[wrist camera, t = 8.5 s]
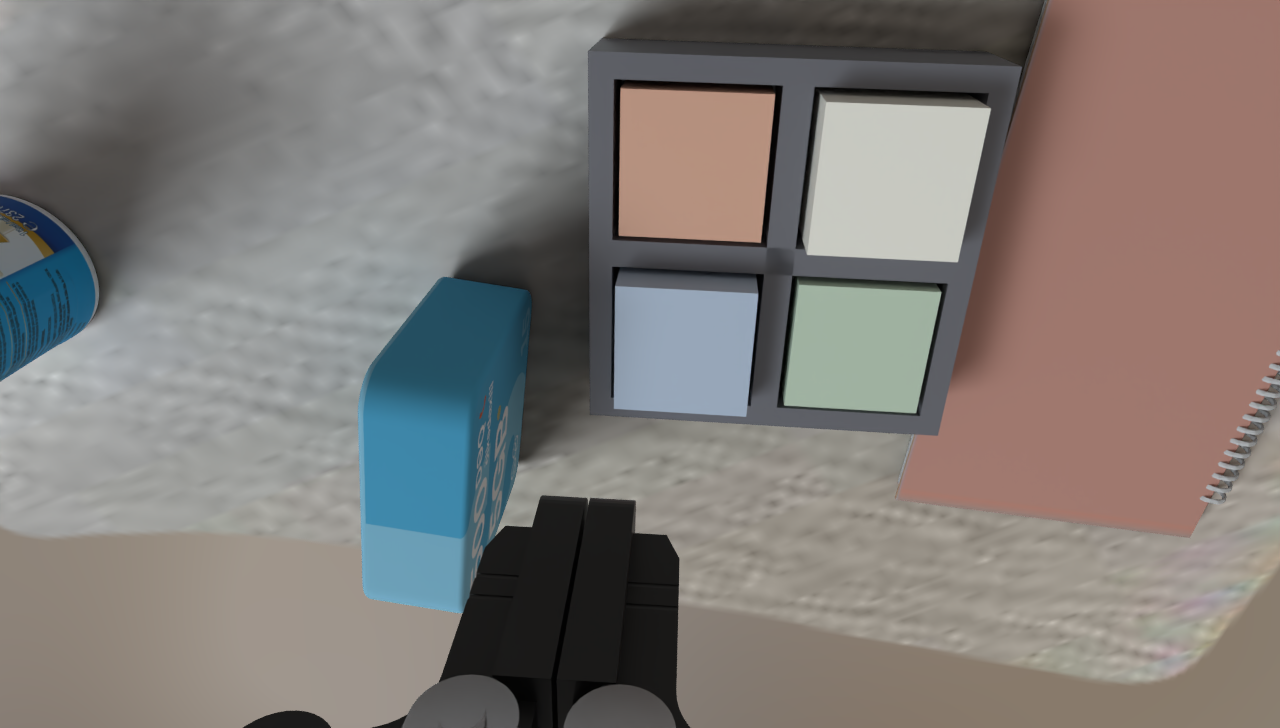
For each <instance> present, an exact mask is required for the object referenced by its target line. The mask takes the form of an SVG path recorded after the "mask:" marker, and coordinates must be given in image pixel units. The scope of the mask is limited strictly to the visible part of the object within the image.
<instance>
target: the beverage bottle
mask: <svg viewBox="0 0 1280 728" xmlns="http://www.w3.org/2000/svg"><path fill="white" fill-rule="evenodd" d="M98 301H99V284H98V278H97V274H96V271H95V268H94V265H93V263H92V261H91V259H90V257H89V255H88V253H87V251H86V250H85V248H84V247H83V245H82V244H81V242H80V241H79V240H78V238H77V237H76V236H75V235H74V234H73V233H72V232H71V231H70V230H69V229H68V228H67V227H66V226H65V225H64V224H63V223H62V222H61V221H60V220H58V219H57V218H56V217H54V216H53V215H52V214H50V213H49V212H47V211H46V210H44V209H42V208H40V207H39V206H37V205H35V204H32V203H30V202H28V201H25V200H22V199H19V198H16V197H12V196H7V195H1V194H0V381H2V380H3V379H5V378H6V377H8V376H10V375H11V374H13V373H14V372H16V371H17V370H19V369H20V368H22V367H24V366H25V365H27V364H28V363H30V362H31V361H33V360H35V359H36V358H38V357H39V356H41V355H43V354H44V353H46V352H47V351H49V350H51V349H52V348H54V347H56V346H57V345H59V344H61V343H63V342H65V341H67V340H69V339H70V338H72V337H73V336H75V335H77V334H78V333H79V332H81V331H82V330H83V329H84V328H85V327H86V326H87V325H88V324H89V323H90V321H91V320H92V318H93V316H94V314H95V312H96V309H97V306H98Z"/></svg>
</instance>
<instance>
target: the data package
mask: <svg viewBox="0 0 1280 728" xmlns="http://www.w3.org/2000/svg"><path fill="white" fill-rule="evenodd" d="M531 308H532V300H531V295H530V293H529V291H527V290H524V289H518V288H512V287H506V286H499V285H493V284H487V283H480V282H474V281H468V280H462V279H455V278H449V277H442V278H440V279H439V280H438V281H437V282H436V283H435V285H434V286H433V287H432V288H431V290H430V291H429V292H428V293H427V295H426V296H425V297H424V298H423V300H422V301H421V302H420V303H419V305H418V306H417V307H416V308H415V310H414V311H413V312H412V313H411V315H410V316H409V317H408V318H407V320H406V321H405V322H404V324H403V325H402V326H401V327H400V329H399V330H398V331H397V332H396V334H395V335H394V336H393V337H392V339H391V340H390V341H389V342H388V344H387V345H386V346H385V347H384V349H383V350H382V351H381V352H380V354H379V355H378V356H377V357H376V359H375V360H374V361H373V362H372V364H371V365H370V367H369V369H368V371H367V373H366V375H365V378H364V381H363V384H362V388H361V392H360V398H359V405H358V431H359V468H360V505H361V541H362V578H363V589H364V593H365V595H366V596H367V597H368V598H370V599H375V600H381V601H387V602H393V603H399V604H406V605H412V606H418V607H425V608H430V609H437V610H443V611H449V612H455V613H463V611H464V608H465V605H466V602H467V599H469V593H470V590H471V587H472V584H473V581H474V578H476V572H477V569H478V566H479V563H480V560H481V557H482V554H483V552H484V549H485V547H486V546H487V545H488V544H489V543H490V541H491V540H492V539H493V538H494V537H495V534H496V532H497V529H498V526H499V523H500V521H501V518H502V515H503V512H504V509H505V507H506V504H507V501H508V498H509V496H510V493H511V490H512V487H513V484H514V481H515V477H516V472H517V467H518V461H519V453H520V441H521V429H522V417H523V405H524V393H525V381H526V369H527V357H528V345H529V333H530V321H531Z"/></svg>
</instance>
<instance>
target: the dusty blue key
mask: <svg viewBox="0 0 1280 728" xmlns="http://www.w3.org/2000/svg"><path fill="white" fill-rule="evenodd" d="M757 303H758V287H757V279H756V274H750V273H731V272H711V271H691V270H672V269H652V268H632V267H620V271H619V274H618V278H617V281H616V285H615V348H614V409H625V410H642V411H658V412H675V413H691V414H708V415H724V416H741V417H746V414H747V404H748V394H749V384H750V374H751V363H752V353H753V343H754V333H755V323H756V313H757Z"/></svg>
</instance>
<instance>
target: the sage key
mask: <svg viewBox="0 0 1280 728" xmlns="http://www.w3.org/2000/svg"><path fill="white" fill-rule="evenodd" d="M940 297H941V291H940V289H939V288H938V286H937V284H936V283H927V282H908V281H888V280H868V279H849V278H829V277H809V276H792V282H791V291H790V299H789V308H788V316H787V325H786V333H785V342H784V350H783V359H782V367H781V376H780V381H781V387H782V394H783V400H784V405H785V406H802V407H818V408H835V409H852V410H868V411H885V412H902V413H916V411H917V406H918V401H919V397H920V392H921V387H922V382H923V378H924V373H925V368H926V363H927V359H928V354H929V349H930V344H931V340H932V335H933V330H934V325H935V321H936V316H937V311H938V306H939V302H940Z"/></svg>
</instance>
